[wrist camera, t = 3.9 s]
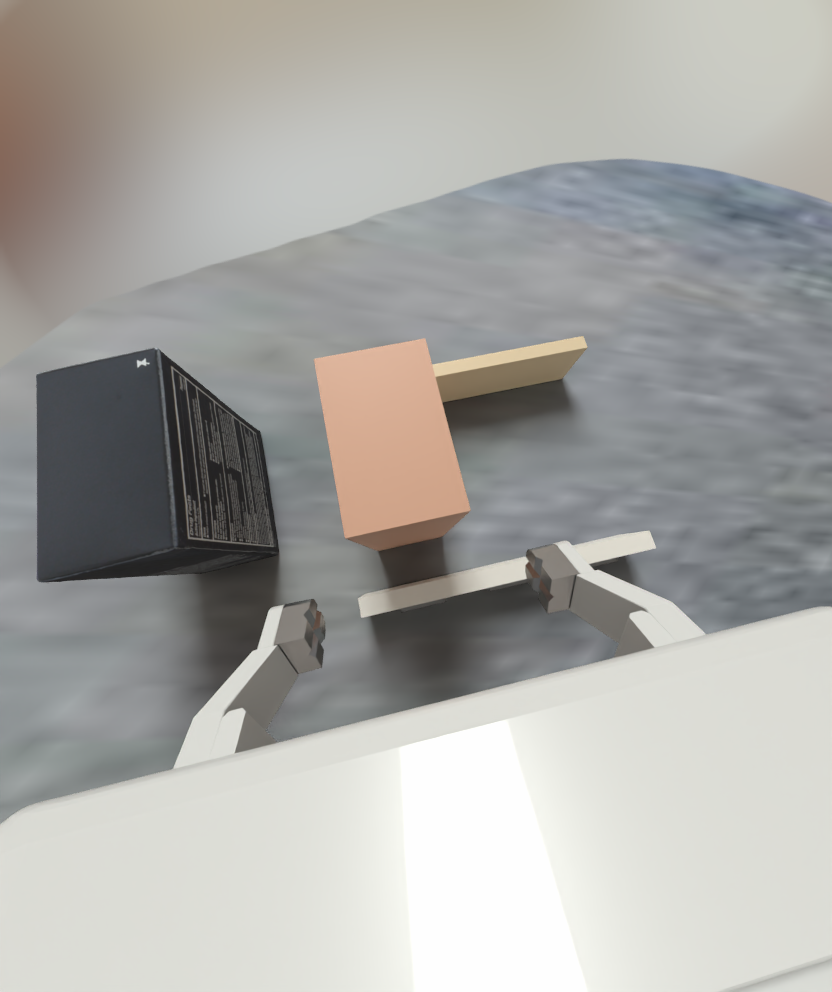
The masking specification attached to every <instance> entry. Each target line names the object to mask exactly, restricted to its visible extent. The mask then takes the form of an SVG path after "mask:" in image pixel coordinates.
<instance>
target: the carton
mask: <svg viewBox="0 0 832 992" xmlns="http://www.w3.org/2000/svg"><path fill="white" fill-rule="evenodd" d="M314 362H315V368H316V373H317V379H318V385H319V391H320V397H321V402H322V408H323V414H324V420H325V425H326V431H327V437H328V443H329V449H330V454H331V460H332V466H333V472H334V477H335V483H336V489H337V495H338V500H339V506H340V512H341V518H342V524H343V529H344V535H345V538H346V539H348V540H351V541H353V542H356V543H359V544H361V545H364V546H366V547H369V548H372V549H374V550H377V551H381V550H386V549H390V548H394V547H399V546H403V545H408V544H412V543H417V542H421V541H426V540H430V539H435V538H439V537H442V536H443V535H444V534H446V533H447V532H448V531H449V530H450V529H451V528H452V527H453V526H454V525H455V524H457V523H458V522H459V521H460V520H461V519H462V518H463V517H464V516H465V515H466V514H468V513H469V512H470V511H471V510H470V506H469V502H468V499H467V495H466V491H465V487H464V483H463V480H462V476H461V472H460V468H459V465H458V461H457V457H456V453H455V449H454V446H453V442H452V438H451V434H450V431H449V427H448V423H447V419H446V415H445V412H444V408H443V404H442V400H441V396H440V393H439V389H438V385H437V381H436V378H435V374H434V370H433V366H432V362H431V359H430V355H429V351H428V347H427V344H426V340H425V339H419V340H414V341H409V342H403V343H398V344H392V345H387V346H382V347H376V348H371V349H365V350H360V351H355V352H349V353H344V354H338V355H333V356H327V357H322V358H317V359H314Z"/></svg>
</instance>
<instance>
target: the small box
mask: <svg viewBox="0 0 832 992" xmlns="http://www.w3.org/2000/svg"><path fill="white" fill-rule="evenodd" d="M36 379H37V385H36V386H37V580H38V581H39V582H61V581H70V580H87V579H107V578H123V577H139V576H159V575H177V574H193V573H195V574H199V573H200V574H201V573H206V572H210V571H214V570H219V569H222V568H226V567H231V566H234V565H239V564H243V563H247V562H250V561H255V560H259V559H263V558H267V557H271V556H275V555H277V554H278V553H279V549H278V544H277V535H276V530H275V523H274V516H273V509H272V504H271V497H270V491H269V484H268V478H267V472H266V465H265V459H264V453H263V447H262V441H261V435H260V431H258V430H257V429H256V428H254V427H253V426H252V425H250V424H249V423H248V422H246V421H245V420H244V419H243V418H241V417H240V416H239V415H237V414H236V413H235V412H234V411H232V410H231V409H230V408H229V407H228V406H227V405H225V404H224V403H223V402H222V401H220V400H219V399H218V398H217V397H216V396H215V395H213V394H212V393H211V392H210V391H209V390H207V389H206V388H205V387H204V386H203V385H202V384H200V383H199V382H198V381H197V380H195V379H194V378H193V377H192V376H190V375H189V374H188V373H187V372H185V371H184V370H183V369H182V368H181V367H180V366H178V365H177V364H176V363H175V362H173V361H172V360H171V359H169V358H168V357H167V356H166V355H165V354H164V353H163V352H161V351H160V350H159V349H158V348H156V347H153V348H149V349H145V350H140V351H136V352H131V353H128V354H122V355H118V356H113V357H109V358H104V359H99V360H95V361H90V362H86V363H82V364H76V365H72V366H67V367H63V368H58V369H54V370H50V371H46V372H41V373H38V374H37V376H36Z"/></svg>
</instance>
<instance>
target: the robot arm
mask: <svg viewBox="0 0 832 992" xmlns="http://www.w3.org/2000/svg"><path fill="white" fill-rule="evenodd" d="M526 558H527V559H528V561H529V562H528V563H527V564H526V565H525V573H526V577H527V580H528V583H529V585H530V586H531V588H532V590H534V591H536V592H538V593H539V595H538V599H539V601H540V603H541V604H542V606H543V608H544V609H545V611H546V612H547V614H548V613H553V612H557V611H562V610H567V609H570V611H572V612H573V613H575V614H576V615H578V616H579V617H581V618H582V619H584V620H585V621H586V622H588V623H589V624H591V625H592V626H594V627H595V628H597V629H598V630H600V631H601V632H603V633H604V634H606V635H607V636H609V637H610V638H612V639H613V640H615V641H616V642H618V643H619V645H618V647H617V650H616V653H615V656H614V658H612V659H608V660H604V661H600V662H596V663H592V664H588V665H584V666H580V667H576V668H572V669H568V670H564V671H560V672H556V673H552V674H548V675H544V676H540V677H536V678H532V679H528V680H524V681H520V682H516V683H512V684H508V685H504V686H500V687H496V688H492V689H488V690H484V691H480V692H476V693H472V694H468V695H465V696H461V697H457V698H453V699H449V700H445V701H441V702H437V703H433V704H429V705H425V706H421V707H417V708H413V709H409V710H405V711H401V712H397V713H393V714H389V715H385V716H381V717H377V718H373V719H369V720H365V721H362V722H358V723H354V724H350V725H346V726H342V727H338V728H334V729H330V730H326V731H322V732H318V733H314V734H310V735H306V736H302V737H298V738H294V739H290V740H286V741H282V742H278V743H277V742H276V741H275V740H274V739H273V738H272V737H271V736H270V735H269V734H268V733H267V732H266V729H267V727H268V726H269V724H270V722H271V721H272V719H273V717H274V716H275V714H276V712H277V711H278V709H279V707H280V706H281V704H282V702H283V700H284V699H285V697H286V695H287V694H288V692H289V690H290V689H291V687H292V685H293V684H294V682H295V680H296V679H297V677H298V674H301V673H304V672H308V671H312V670H315V669H319V668H322V663H323V653H324V649H323V647H322V645H321V643H322V642H323V640H324V639H325V631H326V630H325V621H324V618H323V615H322V613H321V612H319V611H317V603H316V602H315V600H314V599H309V600H304V601H299V602H294V603H289V604H285V605H281V606H276V607H271V609H270V610H269V611H268V614H267V617H266V621H265V624H264V628H263V631H262V634H261V638H260V641H259V645H258V648H257V650H254V651H252V652H251V653H250V655H249V656H248V657H247V658H246V659H245V660H244V661H243V662H242V664H241V665H240V666H239V667H238V668H237V669H236V670H235V672H234V673H233V674H232V675H231V676H230V677H229V678H228V680H227V681H226V682H225V683H224V684H223V685H222V686H221V688H220V689H219V690H218V691H217V692H216V693H215V694H214V695H213V697H212V698H211V699H210V700H209V701H208V702H207V703H206V705H205V706H204V707H203V708H202V709H201V710H200V711H199V713H198V714H197V715H196V716H195V717H194V718H193V721H192V723H191V726H190V728H189V731H188V733H187V736H186V738H185V741H184V743H183V746H182V748H181V751H180V753H179V756H178V758H177V761H176V763H175V766H174V768H173V769H171V770H167V771H163V772H159V773H155V774H151V775H147V776H143V777H139V778H135V779H131V780H127V781H123V782H119V783H115V784H111V785H107V786H103V787H99V788H95V789H91V790H87V791H83V792H79V793H75V794H71V795H67V796H63V797H59V798H55V799H51V800H46V801H42V802H39V803H35V804H32V805H30V806H27V807H25V808H23V809H21V810H19V811H17V812H16V813H14V814H13V815H11V816H10V817H9V818H8V819H7V820H5V821H4V822H3V823H2V824H0V992H832V607H815V608H810V609H806V610H802V611H798V612H794V613H790V614H786V615H782V616H778V617H774V618H770V619H766V620H762V621H758V622H754V623H750V624H746V625H742V626H738V627H735V628H731V629H727V630H723V631H719V632H715V633H711V634H707V635H706V634H705V633H704V632H703V631H702V630H701V629H700V628H699V627H698V626H697V625H696V624H695V623H694V622H692V621H691V620H690V619H689V618H688V617H687V616H686V615H685V614H684V613H683V612H682V611H681V610H680V609H679V608H678V607H677V606H676V605H675V604H674V603H672V602H671V601H668V600H666V599H664V598H661V597H659V596H657V595H655V594H652V593H650V592H648V591H646V590H643V589H641V588H639V587H636V586H634V585H632V584H630V583H627V582H625V581H623V580H621V579H618V578H616V577H614V576H611V575H609V574H607V573H605V572H602V571H600V570H594V569H593V568H592V567H591V566H590V565H589V564H588V563H587V562H586V560H585V559H584V558H583V557H582V556H581V555H580V554H579V553H578V552H577V550H576V549H575V548H574V547H573V546H572V545H571V544H570V543H569V542H568V541H562V542H558V543H553V544H549V545H545V546H540V547H536V548H532V549H528V550H527V552H526Z"/></svg>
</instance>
